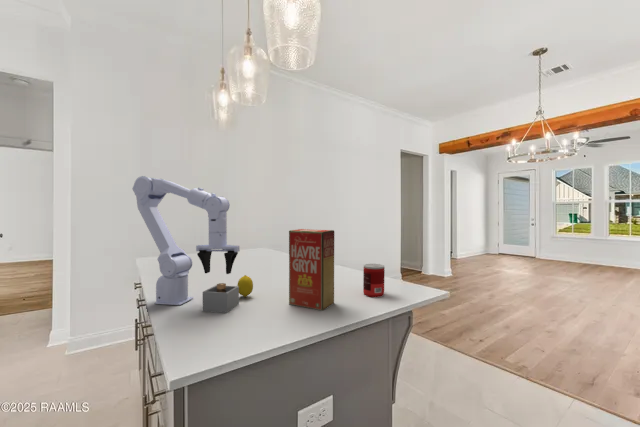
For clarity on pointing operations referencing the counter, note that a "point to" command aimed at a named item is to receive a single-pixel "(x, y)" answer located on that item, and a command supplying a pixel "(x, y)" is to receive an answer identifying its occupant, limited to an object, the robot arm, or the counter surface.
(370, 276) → the canned food
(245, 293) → the lemon
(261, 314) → the counter surface
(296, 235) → the food packaging
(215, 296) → the open box
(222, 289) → the plunger
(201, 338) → the counter surface
